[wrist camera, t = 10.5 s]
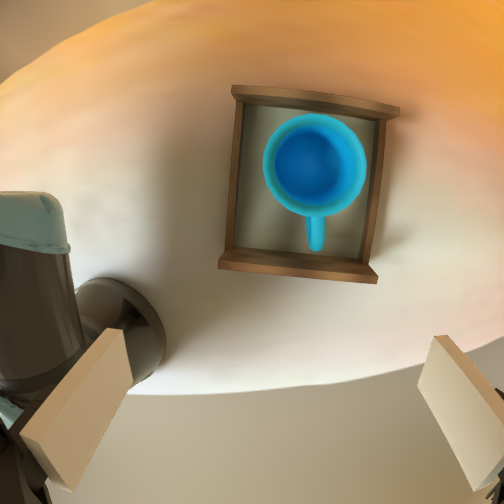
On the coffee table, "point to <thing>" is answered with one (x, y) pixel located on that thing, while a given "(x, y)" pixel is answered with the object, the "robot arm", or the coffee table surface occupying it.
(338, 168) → the mug
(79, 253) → the coffee table surface
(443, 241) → the coffee table surface
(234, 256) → the tray
